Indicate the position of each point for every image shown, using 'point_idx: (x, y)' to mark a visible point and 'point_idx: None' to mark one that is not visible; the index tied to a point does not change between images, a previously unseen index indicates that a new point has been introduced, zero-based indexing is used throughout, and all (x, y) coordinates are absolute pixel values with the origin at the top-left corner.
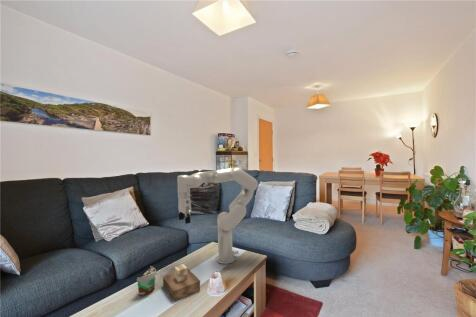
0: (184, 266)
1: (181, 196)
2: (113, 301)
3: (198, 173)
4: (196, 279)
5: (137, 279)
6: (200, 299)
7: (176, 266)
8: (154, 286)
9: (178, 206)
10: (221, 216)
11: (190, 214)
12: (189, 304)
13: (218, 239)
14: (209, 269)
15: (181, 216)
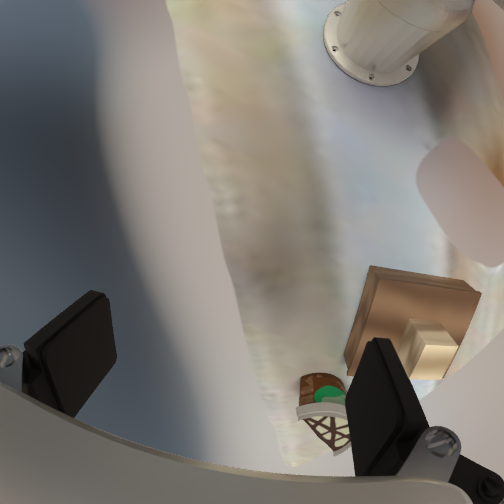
0: (442, 349)
1: None
2: (296, 443)
3: None
4: (467, 299)
5: (336, 452)
6: (485, 303)
7: (413, 372)
8: (336, 381)
9: None
10: None
11: (496, 481)
12: (472, 334)
13: (403, 28)
14: (395, 157)
15: (86, 364)
